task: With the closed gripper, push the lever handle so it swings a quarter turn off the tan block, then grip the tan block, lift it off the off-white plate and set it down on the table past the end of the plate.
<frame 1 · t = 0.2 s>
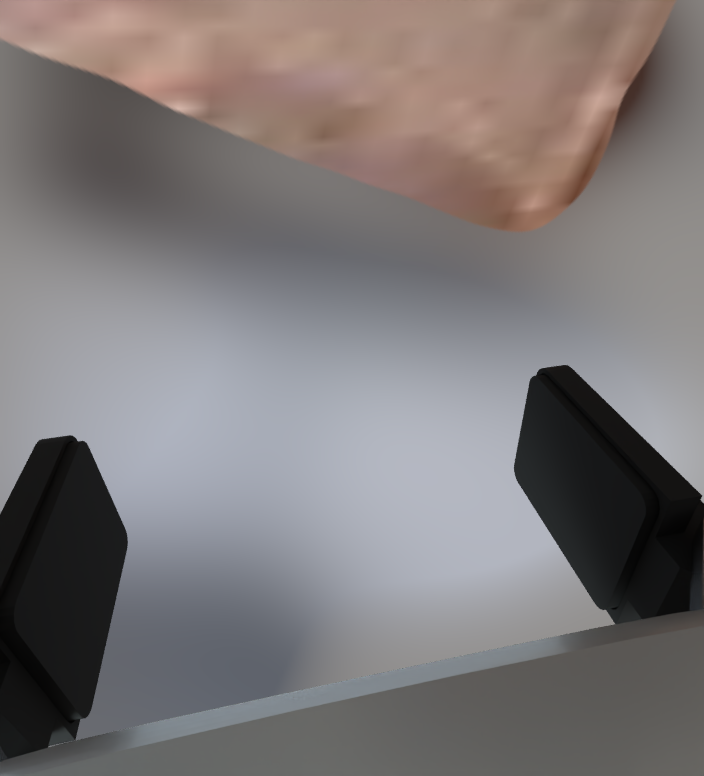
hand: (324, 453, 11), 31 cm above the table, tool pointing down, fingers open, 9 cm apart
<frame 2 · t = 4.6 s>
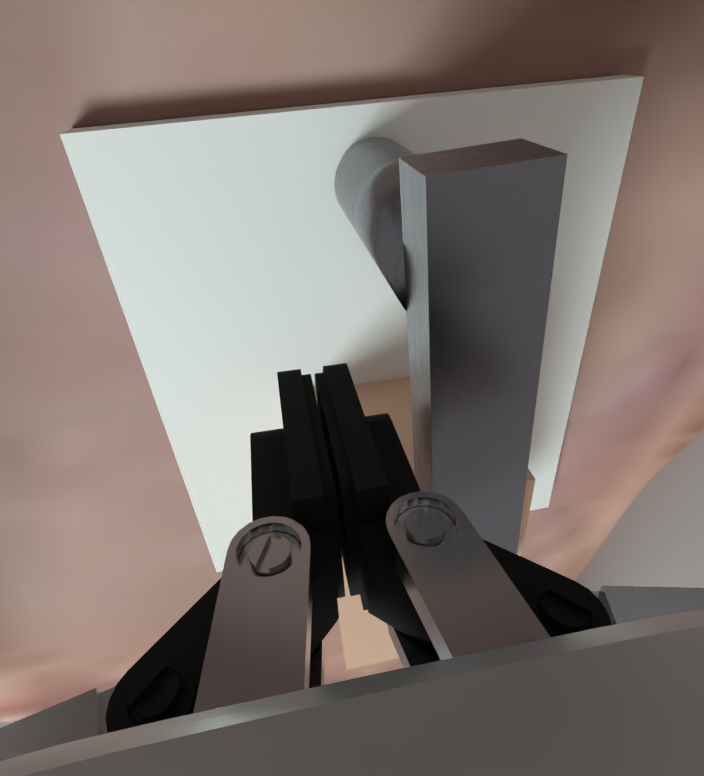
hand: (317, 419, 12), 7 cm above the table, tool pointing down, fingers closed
lever handle: (421, 388, 14), point 5 cm above the table, hinge at 2.4°, touching gripper
tan block: (385, 460, 21), point 1 cm above the table, touching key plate
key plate: (376, 366, 20), on the table
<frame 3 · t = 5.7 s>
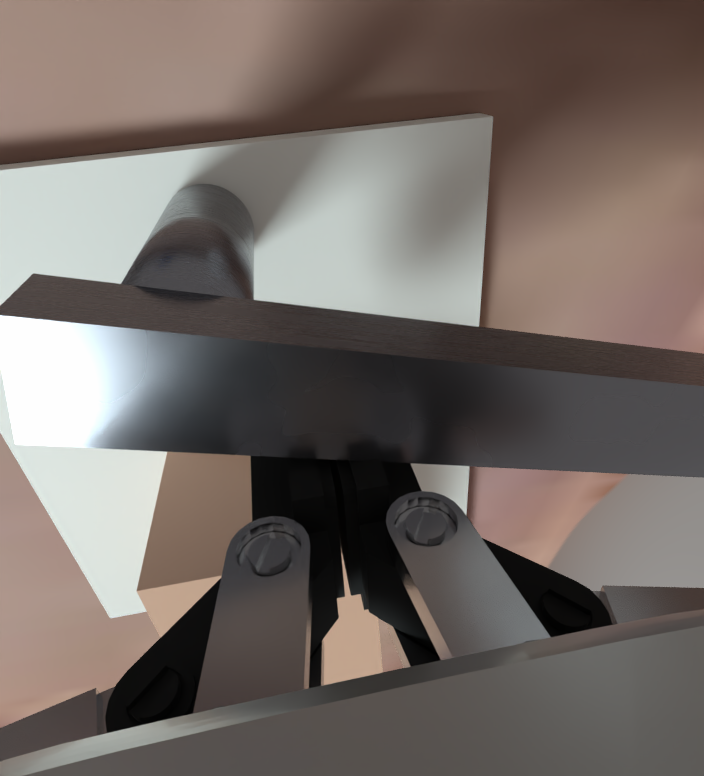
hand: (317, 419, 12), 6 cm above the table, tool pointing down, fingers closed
lever handle: (400, 311, 12), point 5 cm above the table, hinge at 74.2°, touching gripper
tan block: (274, 506, 20), point 1 cm above the table, touching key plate
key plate: (256, 410, 19), on the table
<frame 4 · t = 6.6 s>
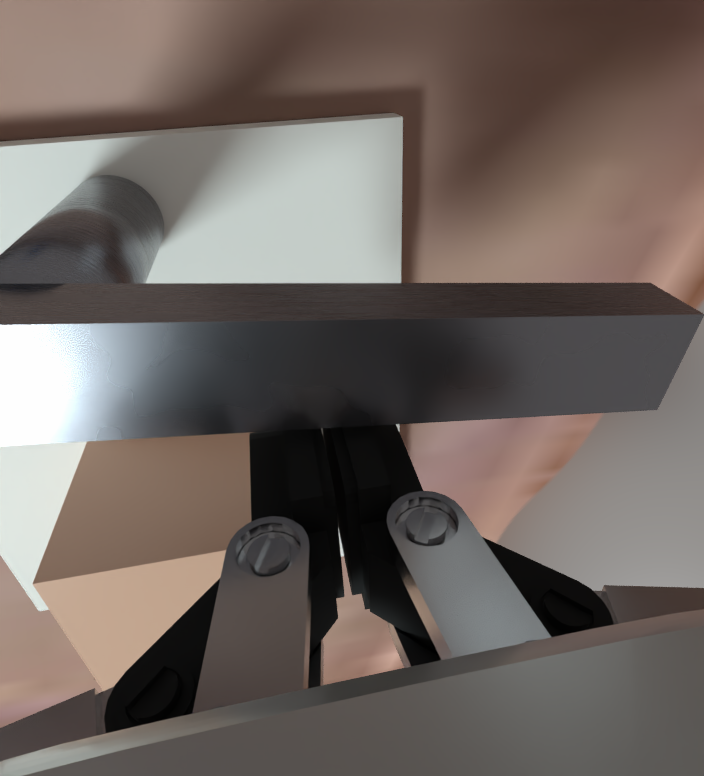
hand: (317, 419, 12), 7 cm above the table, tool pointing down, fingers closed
lever handle: (297, 279, 11), point 5 cm above the table, hinge at 83.2°
tan block: (203, 500, 20), point 1 cm above the table, touching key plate
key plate: (181, 404, 19), on the table
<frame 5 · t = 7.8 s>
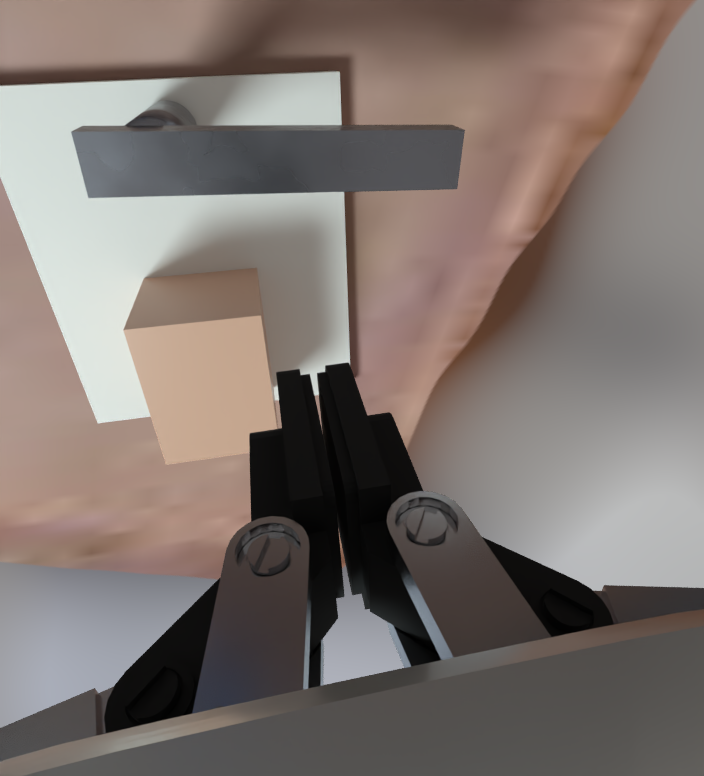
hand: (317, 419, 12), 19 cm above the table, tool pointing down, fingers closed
lever handle: (274, 143, 21), point 5 cm above the table, hinge at 87.3°
tan block: (214, 337, 30), point 1 cm above the table, touching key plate
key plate: (202, 266, 28), on the table
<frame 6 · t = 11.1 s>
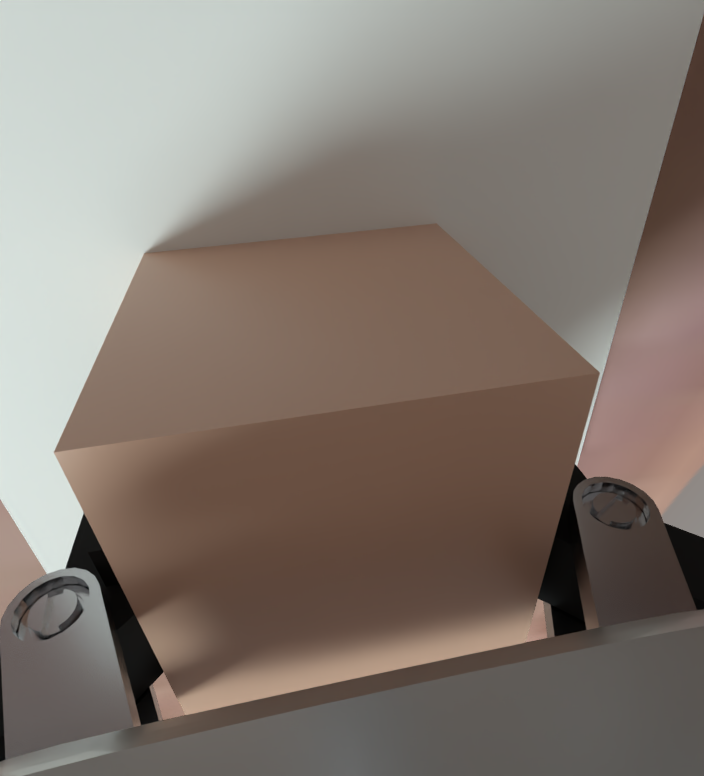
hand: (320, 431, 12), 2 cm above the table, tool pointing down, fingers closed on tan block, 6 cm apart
tan block: (312, 396, 13), point 1 cm above the table, touching gripper, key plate
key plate: (291, 223, 11), on the table
when the fingers open (3 cm above the table, at t = 18.1 s): tan block drops 2 cm, on the table.
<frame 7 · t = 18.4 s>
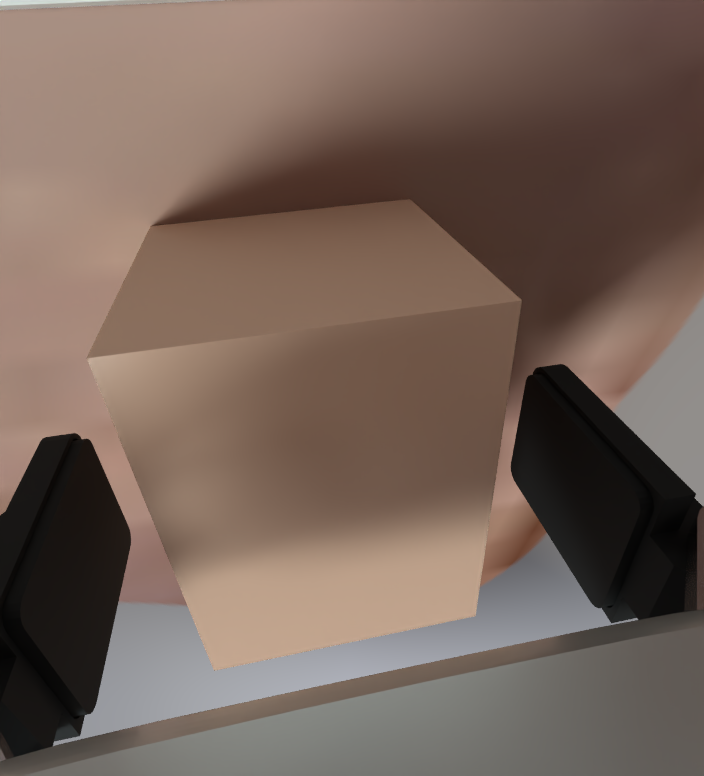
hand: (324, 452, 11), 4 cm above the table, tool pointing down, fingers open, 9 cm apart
tan block: (302, 357, 14), on the table
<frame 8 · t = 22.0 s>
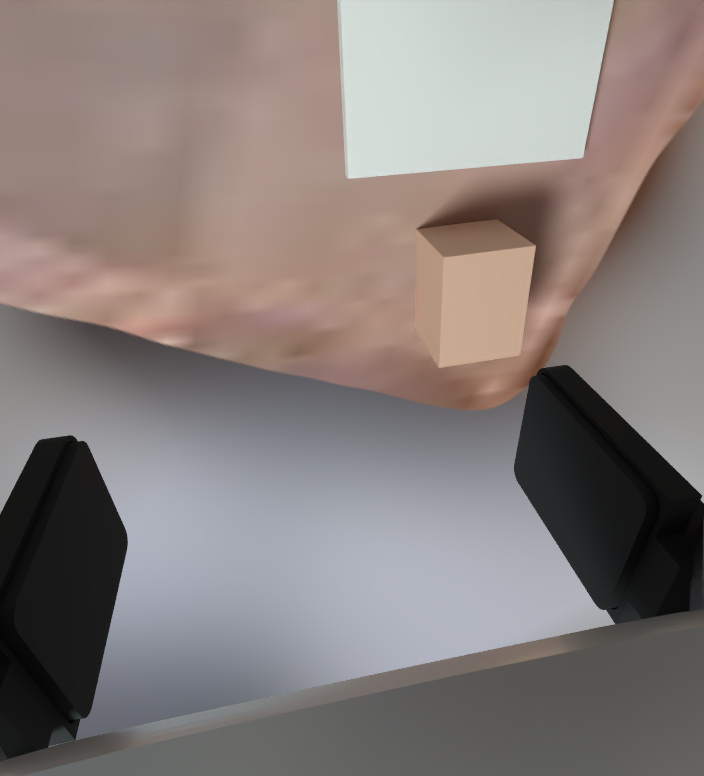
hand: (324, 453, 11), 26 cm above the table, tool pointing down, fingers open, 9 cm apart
tan block: (453, 276, 39), on the table
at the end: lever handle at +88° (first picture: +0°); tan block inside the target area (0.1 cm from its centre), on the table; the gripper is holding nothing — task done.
